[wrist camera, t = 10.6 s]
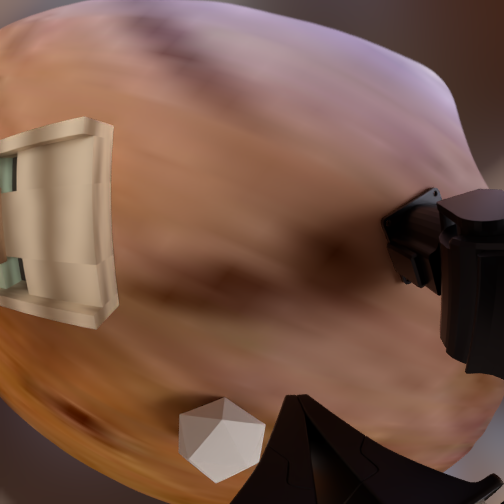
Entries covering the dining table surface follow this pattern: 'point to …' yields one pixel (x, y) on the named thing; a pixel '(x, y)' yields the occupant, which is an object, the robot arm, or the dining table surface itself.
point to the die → (220, 439)
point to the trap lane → (59, 222)
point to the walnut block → (2, 237)
